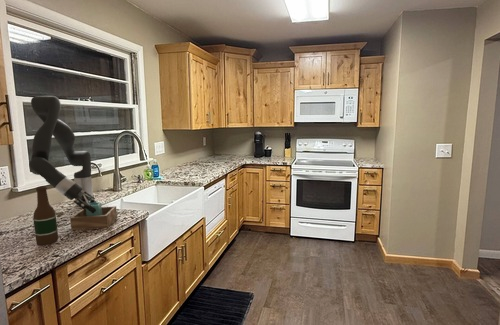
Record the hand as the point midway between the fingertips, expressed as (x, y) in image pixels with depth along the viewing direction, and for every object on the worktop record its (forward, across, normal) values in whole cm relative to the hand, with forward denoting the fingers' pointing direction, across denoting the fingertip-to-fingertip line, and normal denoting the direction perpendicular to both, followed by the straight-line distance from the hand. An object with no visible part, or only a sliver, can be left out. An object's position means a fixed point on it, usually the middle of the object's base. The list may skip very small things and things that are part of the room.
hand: (97, 209), depth 144 cm
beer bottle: (-6, -20, +16) cm, 26 cm away
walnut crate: (+4, 0, +6) cm, 7 cm away
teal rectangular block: (+3, 0, +5) cm, 6 cm away
